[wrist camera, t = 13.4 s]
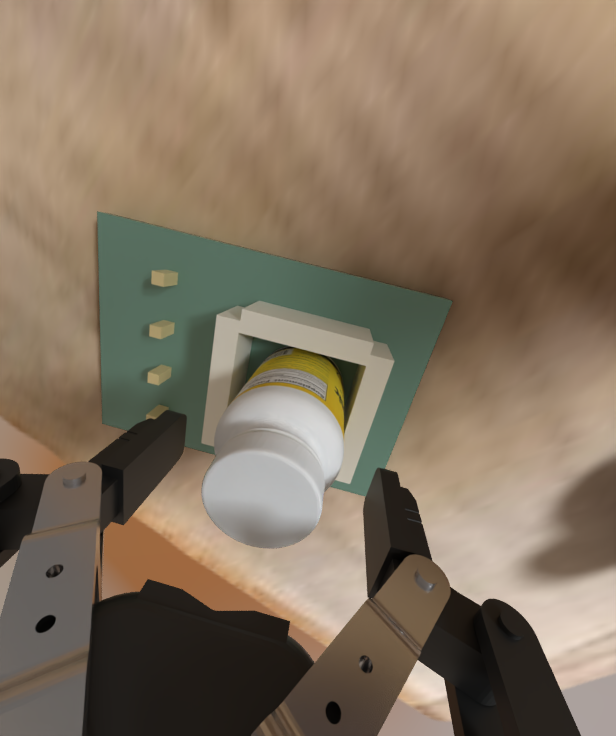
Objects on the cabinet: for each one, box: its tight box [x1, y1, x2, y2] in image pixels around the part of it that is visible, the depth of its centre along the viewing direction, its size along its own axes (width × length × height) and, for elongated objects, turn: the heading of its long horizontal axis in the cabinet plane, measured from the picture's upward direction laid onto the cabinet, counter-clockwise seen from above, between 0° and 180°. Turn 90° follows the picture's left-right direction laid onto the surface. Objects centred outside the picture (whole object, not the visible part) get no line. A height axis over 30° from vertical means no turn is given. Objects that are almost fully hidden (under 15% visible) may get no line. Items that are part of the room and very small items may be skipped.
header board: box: [97, 211, 453, 496], centre depth 18 cm, size 20×14×4 cm
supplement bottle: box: [201, 346, 344, 548], centre depth 14 cm, size 5×5×10 cm
